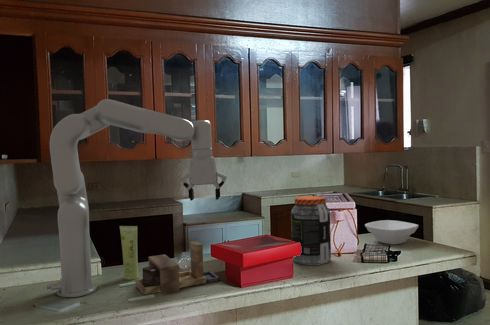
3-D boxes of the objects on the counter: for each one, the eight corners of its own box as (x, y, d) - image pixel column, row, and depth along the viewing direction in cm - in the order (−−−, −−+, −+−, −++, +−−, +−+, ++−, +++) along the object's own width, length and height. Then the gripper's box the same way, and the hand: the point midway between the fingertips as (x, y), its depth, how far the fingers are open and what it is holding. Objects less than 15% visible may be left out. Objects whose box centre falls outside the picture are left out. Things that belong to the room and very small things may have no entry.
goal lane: (129, 302, 133) (129, 300, 133) (119, 286, 148) (119, 284, 148) (154, 297, 136) (154, 295, 136) (142, 282, 152) (142, 280, 152)
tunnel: (161, 295, 138) (160, 268, 138) (149, 281, 153) (148, 256, 152) (179, 292, 141) (178, 265, 140) (165, 278, 155) (164, 254, 155)
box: (156, 284, 150) (156, 263, 149) (168, 287, 146) (167, 266, 145) (142, 289, 145) (141, 267, 145) (153, 292, 141) (153, 270, 141)
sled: (142, 294, 138) (141, 254, 137) (135, 284, 148) (134, 247, 147) (206, 282, 148) (205, 245, 147) (195, 274, 158) (194, 239, 157)
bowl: (359, 242, 202) (359, 224, 202) (387, 235, 213) (387, 219, 213) (395, 250, 185) (395, 231, 184) (424, 243, 196) (424, 225, 196)
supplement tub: (339, 263, 168) (337, 198, 167) (304, 268, 163) (302, 201, 161) (318, 253, 183) (316, 194, 182) (285, 258, 177) (283, 196, 176)
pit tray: (206, 283, 149) (206, 279, 149) (197, 276, 157) (197, 273, 157) (219, 280, 151) (219, 277, 151) (210, 274, 159) (210, 270, 159)
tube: (123, 281, 154) (121, 227, 153) (121, 277, 158) (119, 225, 157) (139, 278, 156) (137, 226, 155) (137, 275, 161) (134, 223, 160)
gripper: (176, 155, 155) (179, 201, 156) (223, 153, 153) (226, 200, 154) (182, 154, 162) (184, 199, 163) (226, 152, 161) (229, 197, 161)
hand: (204, 199), depth 159 cm, fingers open, 9 cm apart
